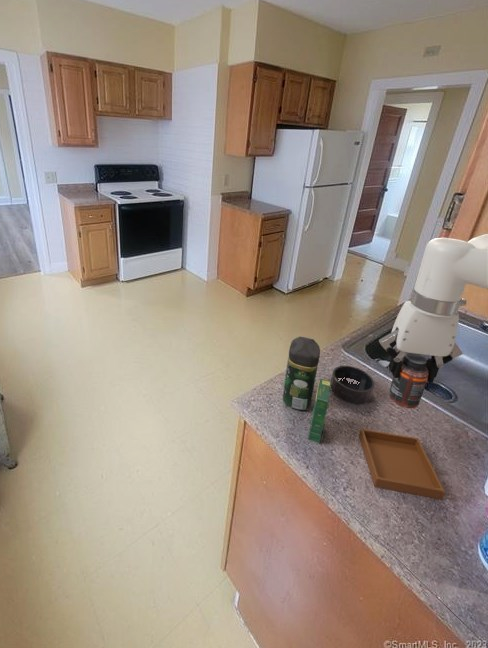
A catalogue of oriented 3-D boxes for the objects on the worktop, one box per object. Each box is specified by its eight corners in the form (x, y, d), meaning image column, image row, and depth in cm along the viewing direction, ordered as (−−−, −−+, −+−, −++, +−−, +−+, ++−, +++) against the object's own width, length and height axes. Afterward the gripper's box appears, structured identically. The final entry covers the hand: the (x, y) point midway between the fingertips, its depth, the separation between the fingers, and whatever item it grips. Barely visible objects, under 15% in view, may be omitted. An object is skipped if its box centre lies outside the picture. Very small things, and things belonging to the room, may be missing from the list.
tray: (415, 445, 78) (418, 437, 77) (441, 499, 66) (445, 491, 65) (358, 435, 80) (360, 428, 79) (374, 486, 68) (376, 478, 67)
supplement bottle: (424, 403, 71) (439, 361, 66) (408, 414, 68) (423, 370, 64) (397, 386, 75) (410, 346, 71) (382, 395, 73) (394, 354, 68)
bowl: (365, 380, 99) (368, 368, 98) (376, 407, 89) (379, 394, 87) (327, 374, 101) (329, 363, 99) (333, 401, 91) (336, 388, 89)
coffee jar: (284, 383, 97) (292, 331, 90) (311, 391, 94) (322, 337, 87) (280, 406, 88) (288, 350, 82) (309, 415, 86) (321, 358, 79)
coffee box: (311, 416, 86) (319, 377, 81) (323, 420, 84) (331, 380, 80) (307, 440, 79) (315, 398, 74) (319, 444, 78) (328, 402, 73)
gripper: (472, 298, 64) (446, 370, 71) (380, 289, 67) (363, 359, 74) (496, 316, 58) (464, 395, 64) (392, 305, 61) (372, 382, 67)
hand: (410, 375), depth 69 cm, fingers closed on supplement bottle, 6 cm apart
